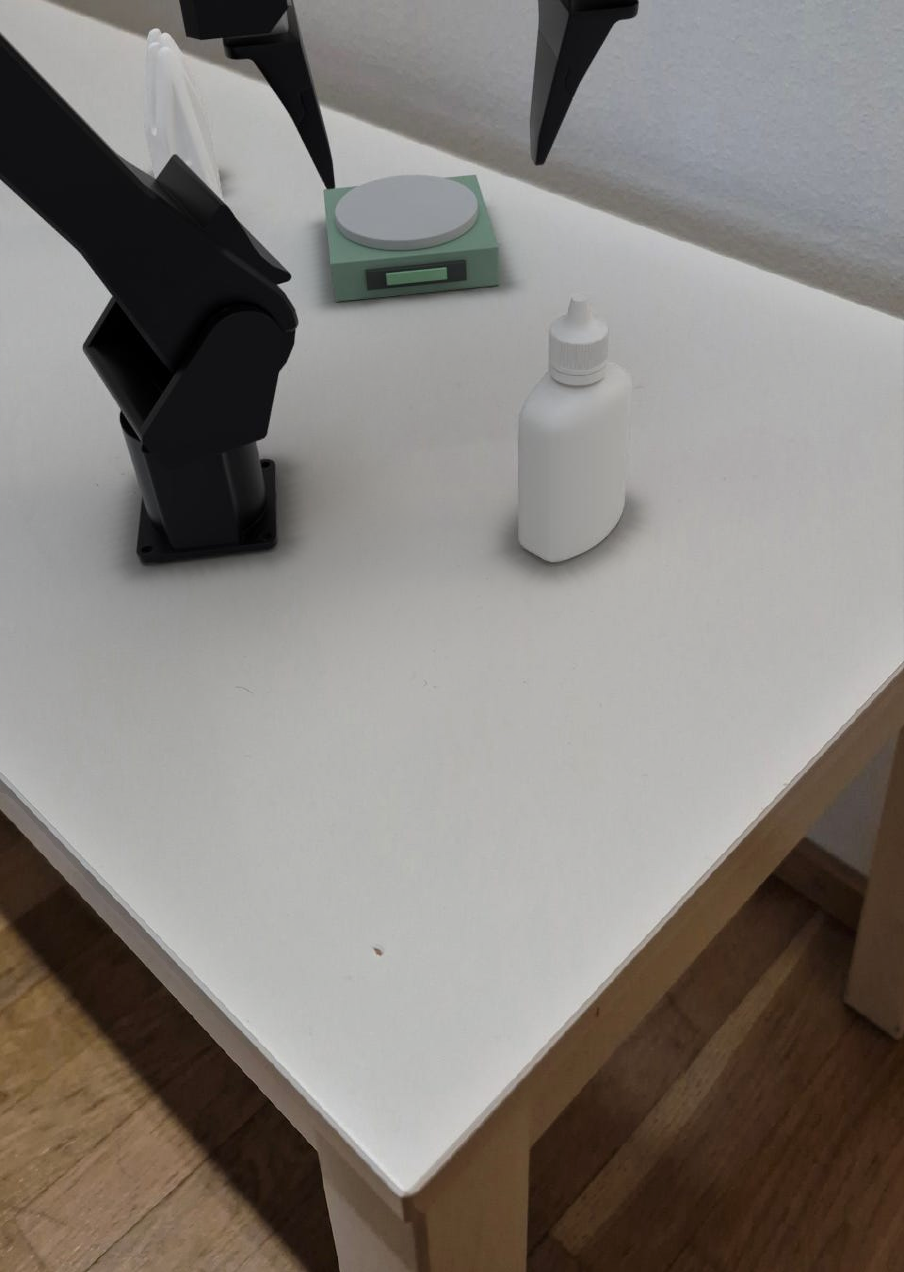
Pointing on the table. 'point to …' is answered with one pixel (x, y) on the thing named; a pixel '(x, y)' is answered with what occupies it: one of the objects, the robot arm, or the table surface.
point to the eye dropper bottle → (574, 441)
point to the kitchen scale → (409, 237)
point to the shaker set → (176, 112)
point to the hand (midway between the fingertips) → (434, 173)
